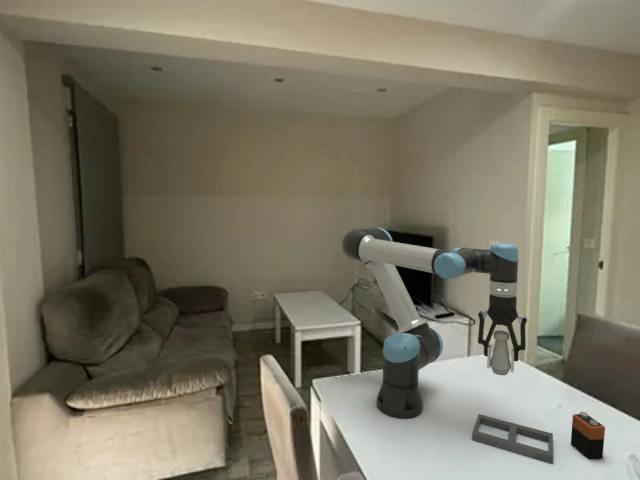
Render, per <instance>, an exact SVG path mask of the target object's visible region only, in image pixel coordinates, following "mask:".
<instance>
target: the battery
mask: <svg viewBox="0 0 640 480" xmlns="http://www.w3.org/2000/svg"><path fill="white" fill-rule="evenodd" d="M571 421H572V422H571V434H570V435H571V436H570V444H571V446H572V447H573V448H575V449H577V451H578V452H580V453H581V454H582V455H583V456H585V457H586V458H587V459H588V460H592V459H593V460H594V459H603V456H604V445H605V444H604V443H605V432H606V426H605V425H603V424H601V422H599V421H597V420H596V419H595V418H593V417H592V416H590V415H589V414H588V413H587V412H585V411H579V413H576V414H572V420H571Z"/></svg>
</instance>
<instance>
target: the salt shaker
mask: <svg viewBox="0 0 640 480" xmlns="http://www.w3.org/2000/svg"><path fill="white" fill-rule="evenodd" d="M493 338H494V339H495V342H494V346H493V350H492V353H491V362H490V368H491V370H492V373H493V374H495V375H498V376H507V375H508V374H509V372H510V371H511V356H510V353H509V351H510V350H509V346H508V341H509V340H510V334H509V332H507V331H505V330H500V329H499V330H494V332H493Z"/></svg>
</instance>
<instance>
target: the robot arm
mask: <svg viewBox="0 0 640 480" xmlns="http://www.w3.org/2000/svg"><path fill="white" fill-rule="evenodd" d="M341 249H342V252H343V254H344V255H345V256H346V257H347V258H348V259H350V260H353V261H358V262H363V263H364V266H365V268H368V269H370V270H371V271H372V273H373V276H374V278H375V280H376V282H377V284H378V286H379V288H380V290H381V293H382V296H383V297H384V299H385V301H386V304H387V306H388V307H389V310H390V312H391V314H392V316H393V318H394V320H395V323H396V325H397V328H398V331H397V332H396V333H393V334H391V335H388V336H387V337H386V338H385V339H384V341H383V347H382V354H383V355H382V383H381V384H380V388H379V391H378V394H377V396H376V406H377V409H378V410H379V411H380V412H382V413H384V414H385V415H387V416H389V417H393V418H398V419H411V418H416V417H417V416H420V415H421V414H422V412H423V410H424V402H423V401H424V400H423V397H422V394H421V391H420V389H419V374H420V373H419V371H420V370H422V369H423V368H425V367H426V366H428V365H429V364H432V363H434V362H436V360H438V358H439V357H440V356H441V355H442V351H443V349H444V344H443V339H442V336H441V335H440V333H439V332H438V331H437V330H435V329H434V328H432V327H430V325H429V324H428V322H427V320H424V319H422V318H421V317H420V314H419V312H418V310H417V308H416V306H415V304H414V302H413V300H412V297H411V296H410V294H409V292H408V290H407V288H406V285H405V284H404V281H403V279H402V278H401V275H400V274H399V271H398V269H397V267H402V268H406V269H412V270H415V271H416V270H417V271H421V272H426V273H431V274H436V275H438V276H439V277H440V278H443V279H444V280H454V279H457V278H459V277H462V276H464V275H468V274H472V273H475V274H476V273H478V274H486V275H487V274H489V296H488V297H489V299H488V300H489V301H488V303H489V304H488V309H487V310H485V311H484V310H483V311H482V310H479V312H478V314H477V317H478V319H479V321H478V322H479V325H478V337H477V343H478V344H480V345H482V346H483V356H484V357H487V359H486V360H487V362H486V363H487V364H486V367H487V369H490V368H491V366H490V362H491V358H492V344H490V341H491V339H492V336H493V335H494V332H495V330H496V329H495V328H496V326H504V327H506V328H507V331H508V334H509V339H510V340H511V345H512V348H511V351H510V353H511V354H510V363H511V368H510V373H514V371H515V362H518V361H519V354H520V353H519V352H520V351H525V350H526V345H527V343H526V342H527V341H526V324H527V323H528V322H527V321H528V317H527V315H520V314H518V311H517V301H518V300H517V299H518V298H517V296H516V295H517V294H518V271H519V270H518V269H519V248H518V246H517V245H516V244H513V243H500V242H499V243H492V244H491V245H490V249H489V248H488V249H484V248H483V249H481V248H471V247H469V248H468V247H456V248H453V250H452V251H451V250H445V249H438V248H433V247H428V246H427V247H426V246H421V245H414V244H409V243H403V242H402V243H401V242H398V241H397V242H396V241H393V237H392V236H391V234H390V233H389V232H388V231H387V230H386V229H384V228H380V227H376V226H375V227H366V228H355V229H351V230H349V231H347V232H346V234H345V235H344V236H343V238H342V241H341ZM396 266H397V267H396ZM487 316H488V317H489V318H490V320H491V321H492V322H491V325H490V328H489V330H488V332H487V335H486V338H485V339H484V330H485V320H486V319H487ZM516 319H517V320H518V323H519V324H520V326H519V329H520V331H519V332H520V334H519V335H520V344H519V343H518V340H517V336H516V333H515V330H514V326H513V322H515V321H516Z"/></svg>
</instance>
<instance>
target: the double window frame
mask: <svg viewBox="0 0 640 480" xmlns="http://www.w3.org/2000/svg"><path fill="white" fill-rule="evenodd" d="M481 425H482V426H483V425H484V426H487V427H490V428H495V429H498V430H501V431H505V432H508V435H507V439H506V438H503V437H499V436H496V435H492V434H489V433H485V432H482V431H480V428H481ZM553 434H554V433H552V432H549V431H545V430H541V429H538V428H534V427H529V426H526V425H522V424H519V423H515V422H511V421H507V420H503V419H499V418H495V417H492V416H488V415H484V414H481V413H478V415H477V418H476V421H475V424H474V427H473V431H472V433H471V441H474V442H478V443H481V444H485V445H487V446H492V447H495V448H497V449H501V450H504V451H508V452H511V453H514V454H517V455H521V456H525V457H528V458H531V459H535V460H537V461H541V462H544V463H547V464H552V465H553V464H554V435H553ZM518 435H519V436H523V437H527V438H530V439H534V440H537V441H541V442H545V443H547V444H548V445H547V447H548V448H547V449H548V450H544V449H542V448H537V447H536V446H535V447H534V446H531V445H527V444H524V443H521V442H517V437H518Z"/></svg>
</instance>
